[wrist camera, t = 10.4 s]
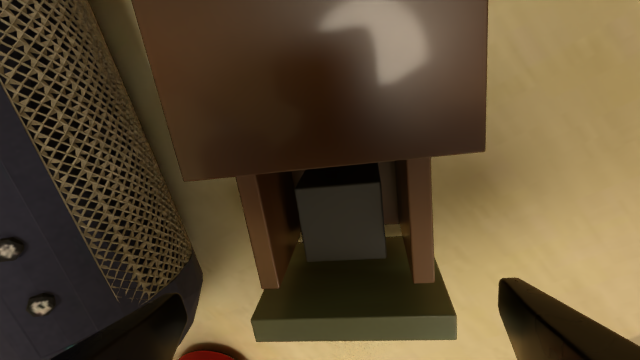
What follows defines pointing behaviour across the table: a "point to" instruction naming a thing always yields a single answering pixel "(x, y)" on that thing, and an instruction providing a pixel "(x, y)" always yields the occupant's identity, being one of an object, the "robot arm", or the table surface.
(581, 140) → the table surface
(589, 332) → the robot arm
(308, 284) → the drawer
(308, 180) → the block
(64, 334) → the portable speaker
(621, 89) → the table surface
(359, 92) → the cabinet
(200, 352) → the beverage can
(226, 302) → the table surface
